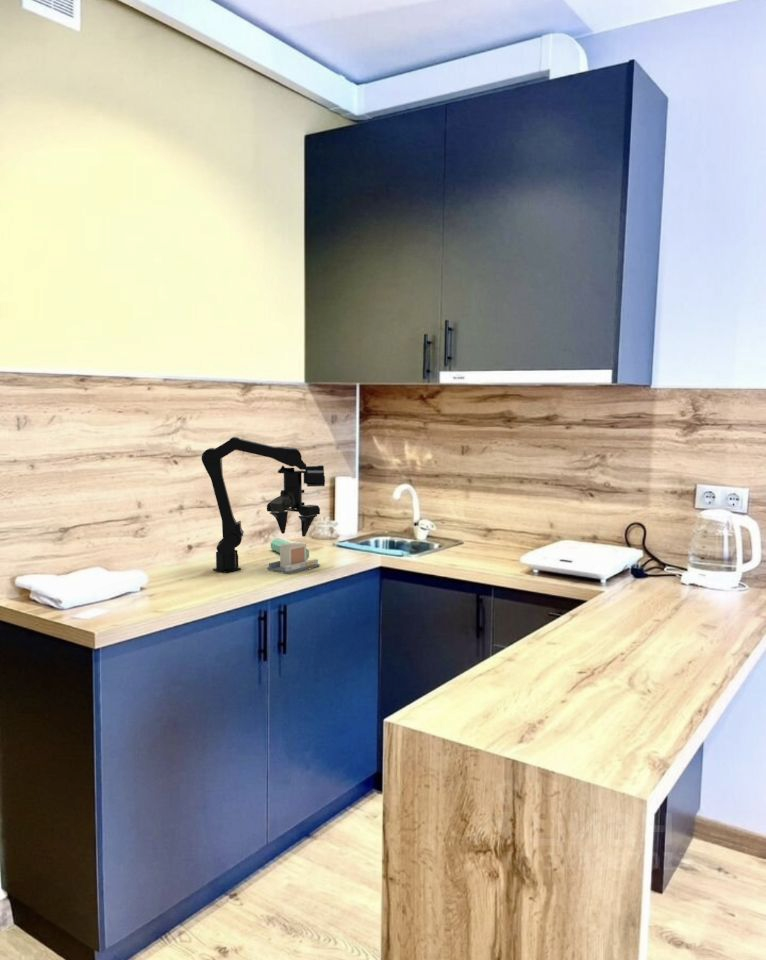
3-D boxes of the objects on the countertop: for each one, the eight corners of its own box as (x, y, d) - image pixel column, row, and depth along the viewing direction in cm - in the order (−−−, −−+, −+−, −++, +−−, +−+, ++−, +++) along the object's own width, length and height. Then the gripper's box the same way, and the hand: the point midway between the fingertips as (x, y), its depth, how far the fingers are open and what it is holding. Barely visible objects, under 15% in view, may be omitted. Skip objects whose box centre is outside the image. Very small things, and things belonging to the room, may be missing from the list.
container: (270, 534, 274) (296, 544, 252) (284, 538, 277) (312, 549, 255) (265, 549, 274) (290, 560, 252) (279, 554, 276) (306, 565, 255)
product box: (280, 567, 242) (279, 545, 241) (297, 562, 248) (297, 542, 248) (289, 568, 240) (289, 547, 239) (306, 564, 246) (306, 543, 245)
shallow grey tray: (289, 574, 236) (289, 566, 235) (267, 569, 242) (267, 562, 241) (319, 566, 247) (319, 559, 246) (297, 562, 253) (297, 555, 252)
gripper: (253, 487, 241) (254, 535, 242) (296, 491, 229) (297, 541, 231) (278, 484, 250) (279, 530, 251) (320, 488, 238) (321, 536, 240)
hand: (293, 534), depth 243 cm, fingers open, 9 cm apart
